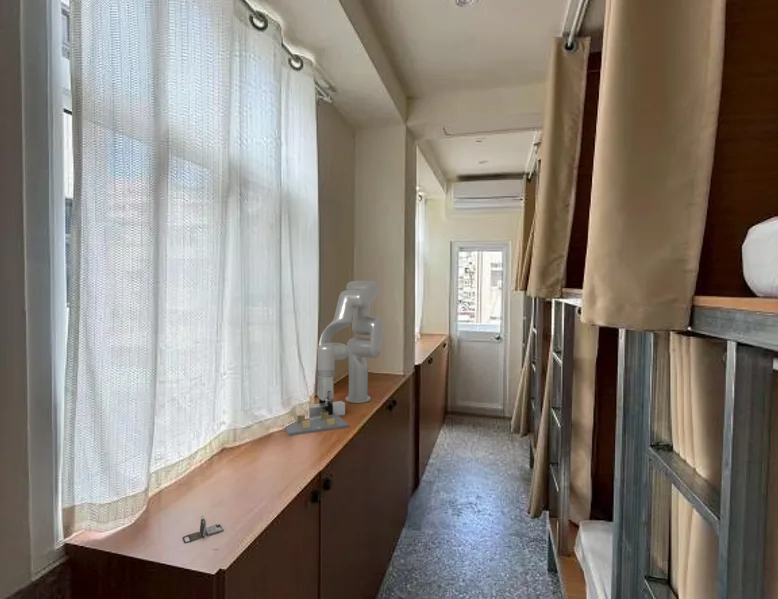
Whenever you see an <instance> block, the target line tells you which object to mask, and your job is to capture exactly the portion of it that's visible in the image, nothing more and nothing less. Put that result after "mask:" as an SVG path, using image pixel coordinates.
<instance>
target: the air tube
mask: <svg viewBox="0 0 778 599" xmlns="http://www.w3.org/2000/svg"><path fill="white" fill-rule="evenodd" d="M312 404H313V405H312V406H310V407H309V418H308V420H309V419H317V418H321V412H325V406H326V403H320V404H319V403H312ZM345 415H346V403H345V402H343V401H342V400H339V401H338V400H337V401H333V414H332V415H328V417H332V416H340V417H341V416H345Z"/></svg>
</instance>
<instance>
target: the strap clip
mask: <svg viewBox="0 0 778 599" xmlns="http://www.w3.org/2000/svg"><path fill="white" fill-rule="evenodd" d="M200 518H201V519H200V525H199V526H200V527H199V531H196V532H193V533H190V534H187V535H184V536H182V541H183V544H188V543H192V542H195V541H197V540H200V539H202V538H204V536H206V537H210V536H214V535H216V534H219V533H222V532H224V530H225V529H224V527H223V525H222V523H217V524H212V525H209V526H207V520H206V518H205V516H204V515H202V516H200ZM218 528H219V529H218ZM187 537H188V539H189V540H188V541H186V539H185V538H187Z"/></svg>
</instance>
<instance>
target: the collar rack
mask: <svg viewBox="0 0 778 599" xmlns="http://www.w3.org/2000/svg"><path fill="white" fill-rule="evenodd" d="M293 422H294V421H293ZM349 427H350V426H349V424H348V423H347V422H346V421H345V420H344V419H343V418H342V417H341V415H340V416H332V417H328V411H326V412H321V418H317V419H309V418H308V419H306V414H304V413H303V414H297V415H296V420H295V422H294V423H292V424H290V425H288V426H286V427H285V428H284V430H285V431H286V433H287V434H288V436H296V435H303V434H304V435H305V434H311V433H317V432H324V431H331V430H338V429H345V428H349Z"/></svg>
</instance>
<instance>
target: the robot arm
mask: <svg viewBox="0 0 778 599" xmlns="http://www.w3.org/2000/svg"><path fill="white" fill-rule="evenodd" d="M345 287H346V290H343V291H341V292H340V294H339V295H338V296H339V297H338V299H337V300H338V301H337V305H336V308H335V312H334V316H333V320H332V321H331V322H330V323H329V324H328V325H327V326H326V327H325V328H324V329H323V331H322V332H321V335H320V338H319V341H318V347H317V390H316V391H317V393H316V394H317V398H318V399H319V401H318V404H320V403H326V406H325V412H326V411H328V415H332V414H333V402H334V377H336V376H335V368H336V367H335V366H336V365H335V362H336V361H341V360H345V359H346V358H348V395H347V396H345V401H346V402H348V403H352V404H361V403H363V404H364V403H368V402H369V401H371V396H370V395H368V392H369V391H368V386H369V385H368V383H369V382H368V378H369V376H368V375H369V374H368V372H369V371H368V369H369V368H368V367H369V365H368V361H367V359H366V358H370V359H371V358H373V359H375V358H378V357H379V356H380V355H381V352H382V345H383V344H382V343H383V335H384V334H383V333H384V324H383V321H382V319H381V318H380V317H379V316H371V303H372V302H373V301H374V300H376V298H377V297H378V296H379V293H380V286H379V284H378V282H376V281H375V280H353V281H352V280H351V281H349V282H347V284H346V286H345ZM349 326H351V329H352V332H353V333H354V334H355V335H360V336H359V337H358V336H357V337H356V336H355V337H351V338H350V339H348V341H347V343H346V344H344V343H341V342H331V340H332V338H333V336H334V335H335V334H336V333H337V332H339V331H341V330H343V329H346V328H348V327H349ZM361 336H370V337H361Z"/></svg>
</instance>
